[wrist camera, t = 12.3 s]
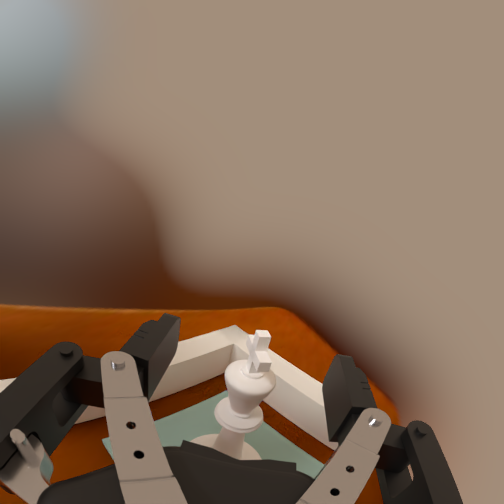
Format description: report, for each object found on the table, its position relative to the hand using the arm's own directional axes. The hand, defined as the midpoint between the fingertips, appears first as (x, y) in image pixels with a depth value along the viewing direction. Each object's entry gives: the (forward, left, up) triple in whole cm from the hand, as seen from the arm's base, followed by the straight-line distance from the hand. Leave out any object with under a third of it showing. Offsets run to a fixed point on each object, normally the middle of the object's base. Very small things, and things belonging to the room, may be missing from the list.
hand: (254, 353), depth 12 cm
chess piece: (+1, -2, -8) cm, 8 cm away
